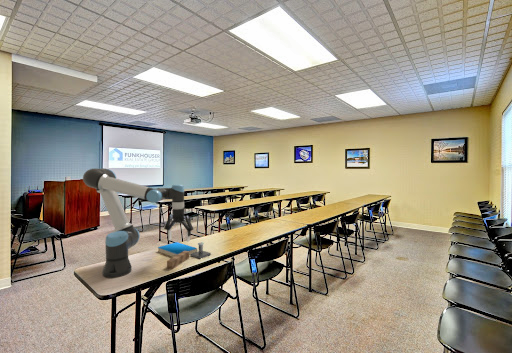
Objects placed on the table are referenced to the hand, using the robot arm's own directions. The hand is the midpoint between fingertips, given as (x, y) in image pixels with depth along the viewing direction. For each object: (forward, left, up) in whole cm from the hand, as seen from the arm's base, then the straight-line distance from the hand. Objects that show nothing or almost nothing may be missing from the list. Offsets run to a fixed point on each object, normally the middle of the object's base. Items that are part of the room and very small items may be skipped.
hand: (179, 240), depth 164 cm
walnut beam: (0, 0, -15) cm, 15 cm away
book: (+13, +19, -15) cm, 28 cm away
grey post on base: (+18, -1, -15) cm, 23 cm away
